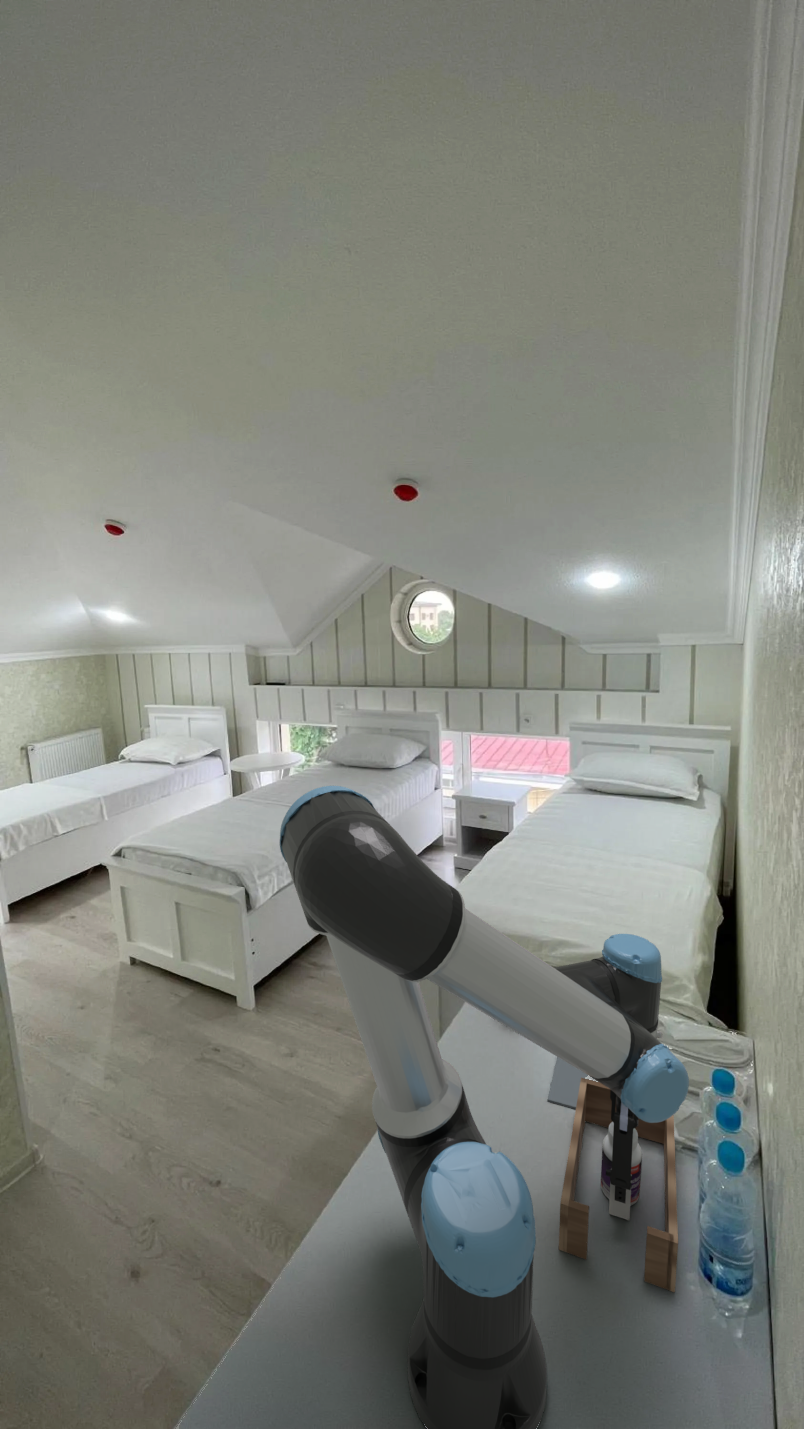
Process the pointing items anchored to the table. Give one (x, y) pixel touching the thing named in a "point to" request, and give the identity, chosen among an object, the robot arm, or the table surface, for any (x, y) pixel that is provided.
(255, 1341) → the table surface
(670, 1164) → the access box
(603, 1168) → the pill bottle
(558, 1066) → the slate pad
